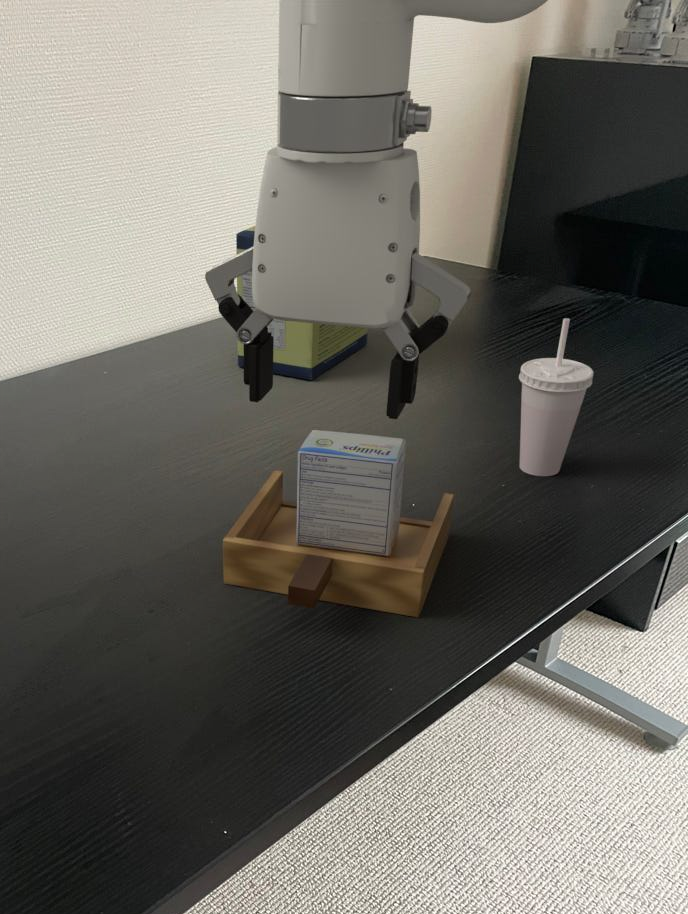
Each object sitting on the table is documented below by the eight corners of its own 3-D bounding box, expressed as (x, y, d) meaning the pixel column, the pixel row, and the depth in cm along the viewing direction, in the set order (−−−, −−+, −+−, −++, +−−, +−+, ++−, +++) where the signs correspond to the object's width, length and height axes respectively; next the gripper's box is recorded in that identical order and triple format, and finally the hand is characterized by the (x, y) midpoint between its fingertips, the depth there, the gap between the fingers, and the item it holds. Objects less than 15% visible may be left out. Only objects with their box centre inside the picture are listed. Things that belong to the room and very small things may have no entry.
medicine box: (399, 533, 82) (408, 437, 77) (389, 559, 79) (398, 460, 74) (307, 521, 85) (311, 427, 80) (294, 546, 81) (296, 449, 76)
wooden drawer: (449, 534, 84) (454, 492, 81) (405, 653, 70) (410, 606, 68) (275, 508, 89) (275, 468, 86) (201, 615, 75) (199, 570, 72)
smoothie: (579, 459, 95) (608, 314, 87) (569, 487, 90) (599, 335, 82) (511, 450, 97) (534, 307, 89) (498, 476, 93) (521, 327, 85)
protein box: (368, 343, 125) (377, 213, 116) (312, 382, 114) (316, 242, 105) (296, 332, 130) (299, 206, 121) (235, 367, 119) (233, 232, 110)
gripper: (499, 121, 58) (462, 398, 68) (226, 114, 63) (228, 372, 73) (479, 140, 52) (443, 440, 62) (181, 131, 58) (191, 408, 68)
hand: (327, 403), depth 68 cm, fingers open, 9 cm apart
